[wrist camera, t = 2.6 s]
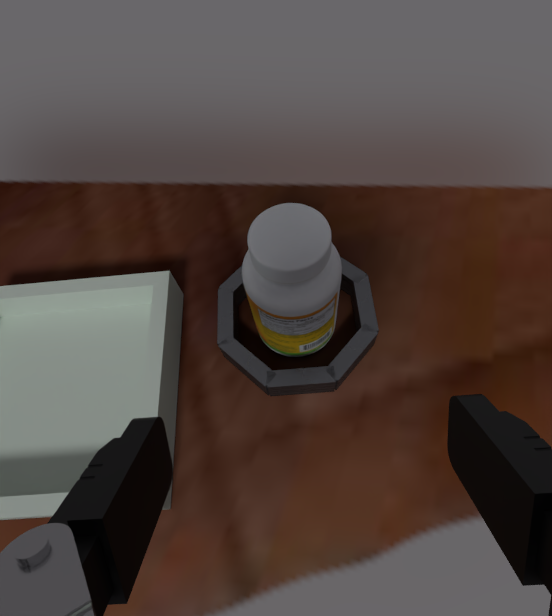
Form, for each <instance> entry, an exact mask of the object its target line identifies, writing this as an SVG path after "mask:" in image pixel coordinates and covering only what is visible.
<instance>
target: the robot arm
mask: <svg viewBox="0 0 552 616" xmlns="http://www.w3.org/2000/svg"><path fill="white" fill-rule="evenodd" d="M448 454H449V458H450V462H451V464H452V467H453V469H454V471H455V472H456V474H457V476H458V477H459V479H460V481H461V482H462V484H463V486H464V487H465V489H466V491H467V492H468V494H469V496H470V498H471V499H472V501H473V503H474V504H475V506H476V508H477V509H478V511H479V513H480V514H481V516H482V518H483V519H484V521H485V523H486V524H487V526H488V528H489V529H490V531H491V533H492V534H493V536H494V538H495V540H496V541H497V543H498V545H499V546H500V548H501V550H502V551H503V553H504V555H505V556H506V558H507V560H508V561H509V563H510V565H511V566H512V568H513V570H514V571H515V573H516V575H517V576H518V578H519V580H520V581H521V583H522V585H523V586H524V585H542V584H544V585H545V586H546V588H547V589H548V590H549V592H550V594H551V601H550V608H549V616H552V449H551V446H549V445H548V444H547V443H546V442H545V441H544V440H543V439H540V436H539V435H538V434H537V433H536V432H535V431H534V430H533V429H532V428H531V427H530V426H529V425H528V424H527V423H526V422H525V421H523V420H521V419H519V418H517V417H516V416H514V415H512V414H510V413H508V412H507V411H503V412H499V411H498V410H497V409H496V408H495V407H494V406H493V405H492V404H491V402H490V401H489V400H488V399H487V398H486V397H485V396H484V395H482V394H474V395H461V396H452V397H451V399H450V402H449V421H448ZM172 476H173V465H172V459H171V454H170V449H169V444H168V440H167V435H166V430H165V425H164V422H163V419H162V418H161V417H147V418H134V419H132V420H131V421H130V423H129V425H128V426H127V428H126V429H125V431H124V432H123V434H122V435H121V437H120V438H113V439H112V440H111V441H109V442H108V443H107V444H106V445H104V446H103V447H102V448H101V449H100V450H98V451H97V453H96V454H95V456H94V457H93V459H92V460H91V462H90V463H89V464H88V468H86V469H85V470H84V472H83V473H82V474H81V476H80V480H77V482H76V483H75V485H74V486H73V487H72V489H71V490H70V492H69V493H68V495H67V496H66V498H65V499H64V500H63V502H62V503H61V505H60V506H59V508H58V509H57V511H56V512H55V513H54V515H53V516H52V518H51V519H50V521H49V522H48V524H45V525H41V526H38V527H36V528H33V529H31V530H29V531H27V532H25V533H24V534H22V535H20V536H19V537H17V538H16V539H15V540H13V541H12V542H11V543H10V544H9V545H8V546H7V547H6V548H5V549H4V550H3V551H2V552H1V553H0V616H103V614H104V612H105V610H106V607H107V605H110V604H127V602H128V599H129V596H130V594H131V591H132V588H133V586H134V583H135V580H136V578H137V575H138V572H139V569H140V567H141V564H142V561H143V559H144V556H145V553H146V551H147V548H148V545H149V543H150V540H151V537H152V535H153V532H154V529H155V527H156V524H157V521H158V519H159V516H160V513H161V510H162V508H163V505H164V502H165V500H166V497H167V494H168V492H169V489H170V486H171V482H172Z"/></svg>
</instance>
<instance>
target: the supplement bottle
mask: <svg viewBox="0 0 552 616" xmlns="http://www.w3.org/2000/svg"><path fill="white" fill-rule="evenodd" d="M331 238H332V237H331V229H330V226H329V223H328V222H327V220H326V218H325V217H324V216H323V215H322V214H321V213H320V212H318V211H317V210H315V209H314V208H312V207H309V206H307V205H304V204H299V203H284V204H279V205H276V206H273V207H270V208H268V209H267V210H265V211H263V212H262V213H261V214H259V215H258V216H257V218H256V219H255V220H254V221H253V223H252V224H251V226H250V229H249V232H248V239H247V242H248V248H249V249H248V251H247V253H246V255H245V257H244V260H243V264H242V279H243V284H244V288H245V291H246V294H247V298H248V301H249V304H250V308H251V311H252V314H253V317H254V321H255V324H256V327H257V330H258V333H259V335H260V337H261V339H262V340H263V342H264V343H265V344H266V345H267V346H268V347H269V348H270V349H272V350H273V351H275V352H277V353H279V354H281V355H284V356H288V357H303V356H307V355H310V354H313V353H315V352H317V351H318V350H320V349H321V348H323V347H324V346H325V345H326V344H327V342H328V341H329V340H330V338H331V336H332V334H333V332H334V329H335V324H336V317H337V308H338V300H339V292H340V285H341V276H342V264H341V259H340V256H339V253H338V251H337V249H336V248H335V246H334V245H333V243H332V242H331Z"/></svg>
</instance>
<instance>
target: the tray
mask: <svg viewBox="0 0 552 616" xmlns="http://www.w3.org/2000/svg"><path fill="white" fill-rule="evenodd" d="M183 296H184V294H183V293H182V291H181V289H180V287H179V286H178V284H177V282H176V281H175V279H174V277H173V276H172V274H171V272H170V271H161V272H150V273H139V274H128V275H117V276H106V277H96V278H85V279H74V280H63V281H52V282H41V283H31V284H20V285H9V286H0V520H9V519H24V518H40V517H52V516H53V515H54V513H55V512H56V511H57V509H58V508H59V506H60V505H61V503H62V502H63V500H64V499H65V498H66V496H67V495H68V493H69V492H70V490H71V489H72V487H73V486H74V485H75V483H76V482H77V480H80V476H81V474H82V473H83V472H84V470H85V469H86V468H88V464H89V463H90V462H91V460H92V459H93V457H94V456H95V454H96V453H97V451H98V450H100V449H101V448H102V447H103V446H104V445H106V444H107V443H108V442H109V441H111V440H112V439H113V438H120V437H121V435H122V434H123V432H124V431H125V429H126V428H127V426H128V425H129V423H130V421H131V420H132V419H134V418H147V417H161V418H162V419H163V422H164V425H165V430H166V435H167V440H168V444H169V449H170V454H171V459H172V465H173V460H174V444H175V427H176V411H177V394H178V378H179V361H180V345H181V329H182V312H183ZM172 477H173V476H172ZM171 493H172V482H171V486H170V489H169V492H168V494H167V497H166V500H165V502H164V505H163V508H162V510H163V509H171Z"/></svg>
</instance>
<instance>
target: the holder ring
mask: <svg viewBox="0 0 552 616" xmlns="http://www.w3.org/2000/svg"><path fill="white" fill-rule="evenodd" d="M340 259H341V264H342V276H341V285H340V289H341V290H343V291H344V292H346V293H347V294H349V295H350V296H351V300H352V306H353V312H354V318H355V324H356V330H357V333H356V334H355V335H354V336H353V337H352V339H351V340H350V341H349V342H348V343H347V344H346V346H345V347H344V348H343V349H342V350H341V351H340V353H339V354H338V355H337V356H336V357H335V358H334V360H333V361H332V362H331V363H330V364H329V366H324V367H311V368H298V369H286V370H273V371H272V370H271V369H270V368H269V367H268V366H266V365H265V364H264V363H263V362H262V361H260V360H259V359H258V358H257V357H256V356H254V355H253V354H252V353H251V352H250V351H248V350H247V349H246V348H245V347H244V346H243V345H241V344H240V343H239V342H238V305H239V304H240V303H241V302H242V301H243V300H244V299H245V298H246V297H247V294H246V291H245V288H244V284H243V279H242V266H241V267H240V268H239V269H238V270H237V271H235V272H234V273H233V274H232V275H231V276H230V277H229V278H228V279H227V280H226V281H225V282H224V283H223V284H222V285H221V286H220V287H219V289H218V338H217V344H218V346H219V348H220V350H221V352H222V353H223V355H224V357H225V358H226V359H227V360H229V361H230V362H231V363H232V364H233V365H234V366H235V367H237V368H238V369H239V370H240V371H241V372H242V373H243V374H245V375H246V376H247V377H248V378H249V379H250V380H251V381H253V382H254V383H255V384H256V385H257V386H258V387H259V388H261V389H262V390H263V391H264V392H265V393H266V394H267V395H270V396H280V395H293V394H306V393H319V392H332V391H334V389H335V390H337V389H338V387H339V386H340V385H341V384H342V382H343V381H344V380H345V379H346V378H347V376H348V375H349V374H350V373H351V372H352V370H353V369H354V368H355V367H356V366H357V364H358V363H359V362H360V361H361V359H362V358H363V357H364V356H365V355H366V353H367V352H368V351H369V350H370V349H371V347H372V346H373V345H374V343H375V340H376V337H377V335H378V331H379V329H378V324H377V319H376V314H375V309H374V304H373V299H372V293H371V288H370V283H369V278H368V275H367V274H366V273H365V272H363V271H362V270H360V269H359V268H357V267H355V266H354V265H352V264H351V263H349V262H348V261H346V260H345V259H343V258H342V257H340Z"/></svg>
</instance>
